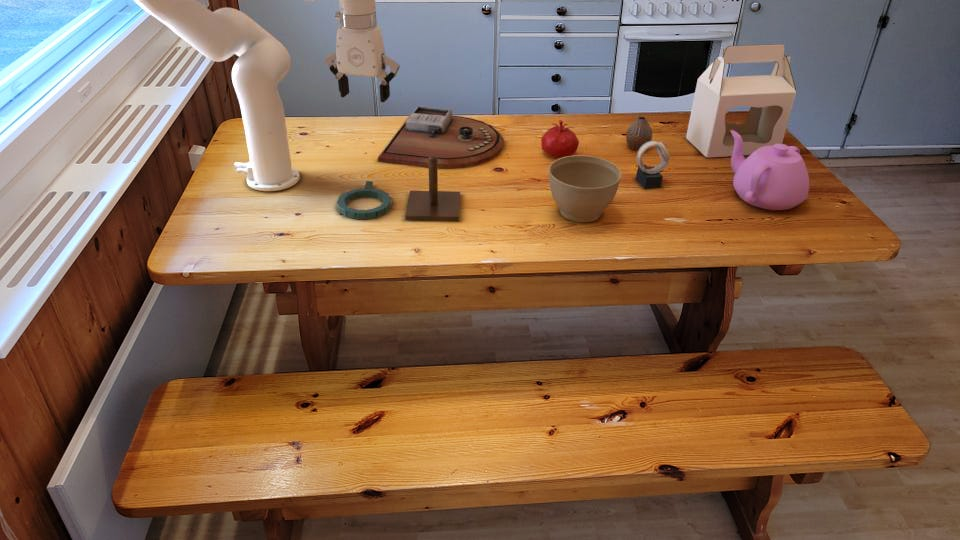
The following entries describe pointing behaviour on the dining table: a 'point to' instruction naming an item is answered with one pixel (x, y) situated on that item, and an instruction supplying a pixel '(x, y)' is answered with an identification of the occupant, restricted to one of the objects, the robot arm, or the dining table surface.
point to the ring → (364, 192)
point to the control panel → (442, 140)
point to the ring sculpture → (651, 175)
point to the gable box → (742, 102)
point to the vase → (639, 133)
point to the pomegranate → (559, 141)
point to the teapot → (770, 175)
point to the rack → (433, 200)
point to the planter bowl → (583, 186)
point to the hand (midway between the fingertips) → (364, 97)
